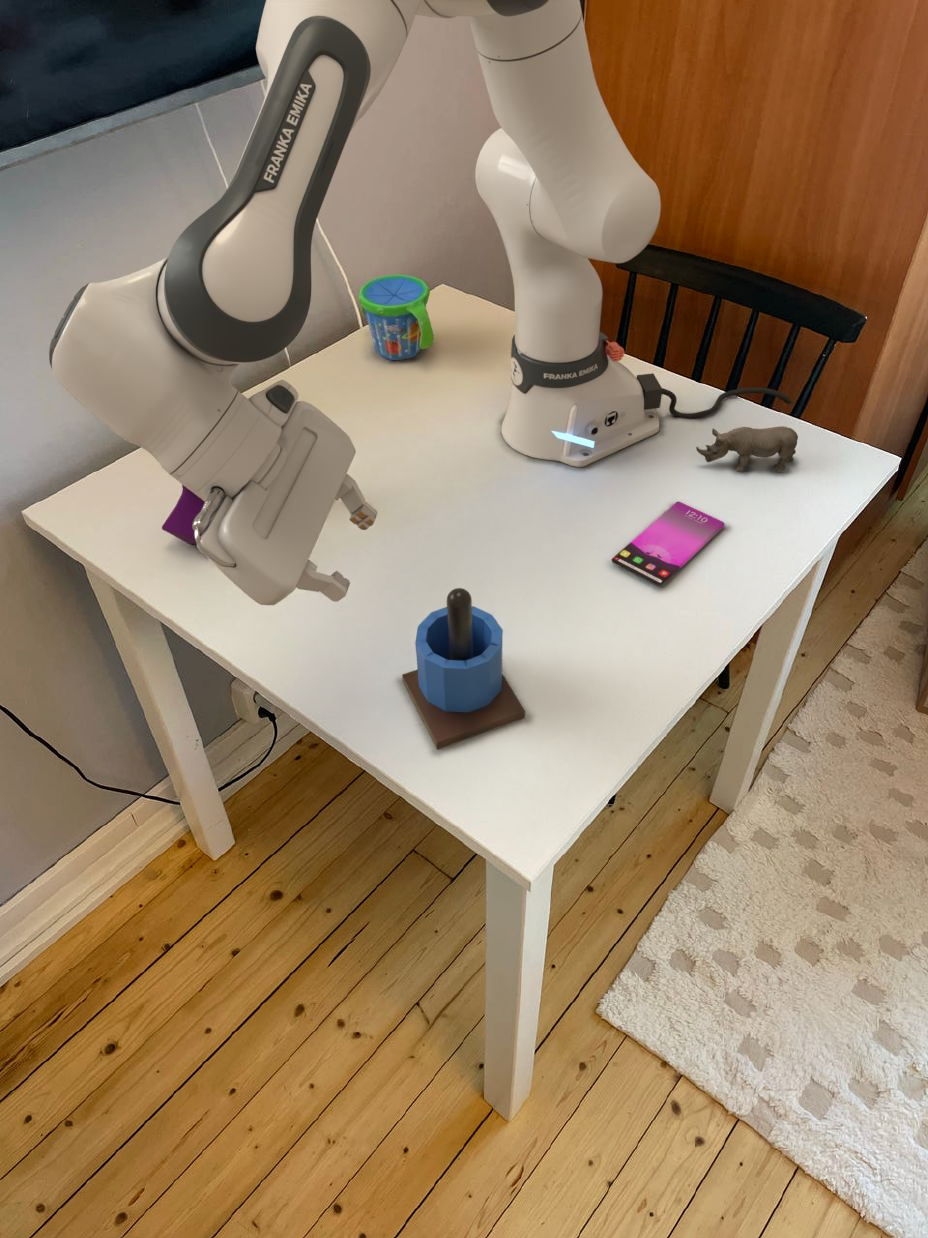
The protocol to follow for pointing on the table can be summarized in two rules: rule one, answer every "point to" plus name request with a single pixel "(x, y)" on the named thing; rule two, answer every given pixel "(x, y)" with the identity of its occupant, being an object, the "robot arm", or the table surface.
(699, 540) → the smartphone
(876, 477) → the table surface
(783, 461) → the rhino figurine
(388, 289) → the snack cup
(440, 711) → the stand
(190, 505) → the perfume bottle
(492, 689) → the tape roll
